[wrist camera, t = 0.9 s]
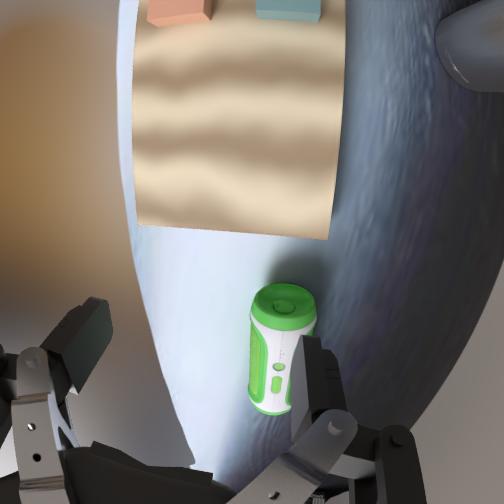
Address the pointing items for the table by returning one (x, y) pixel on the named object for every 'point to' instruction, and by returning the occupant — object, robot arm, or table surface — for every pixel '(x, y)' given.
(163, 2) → the terracotta tile
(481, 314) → the table surface
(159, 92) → the wooden tray board
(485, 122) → the table surface
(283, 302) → the speaker
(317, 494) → the graphics card box
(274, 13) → the teal tile
